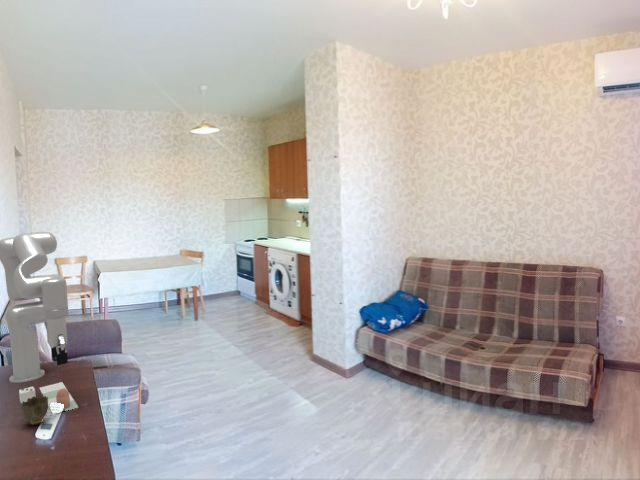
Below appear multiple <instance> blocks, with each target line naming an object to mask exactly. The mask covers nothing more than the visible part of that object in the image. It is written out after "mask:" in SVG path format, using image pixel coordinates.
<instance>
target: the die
mask: <svg viewBox="0 0 640 480" xmlns="http://www.w3.org/2000/svg"><path fill="white" fill-rule="evenodd" d="M36 394H37V393H36V389H35V387H34V386H29V387H25V388H20V389H19V390H18V395H19V402H20V405H21V406H22V404H21V403H23V401H24V402H27V399H28V398H30V399H31V398H32V397H34V396H35V397H36V398H37V396H36Z"/></svg>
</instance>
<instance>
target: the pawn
mask: <svg viewBox="0 0 640 480" xmlns="http://www.w3.org/2000/svg"><path fill="white" fill-rule="evenodd" d="M66 389H67V388H66ZM66 389H61V390H59V391H58V392H57V395H56V401H57V403H61V404H64V409H66V408H68V407H70V398H69V393H70V392H69V391H67V390H68V389H67V390H66ZM68 392H69V393H68Z"/></svg>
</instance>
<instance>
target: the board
mask: <svg viewBox="0 0 640 480" xmlns="http://www.w3.org/2000/svg"><path fill="white" fill-rule="evenodd" d="M61 389H66V390H67V391H68V388H67V387H66V386H65V384H64V383H63V381H61V382H57V383H52V384H49V385H45V386H41V387H39V390H40V392H41V395H42V396H44V397H45V396H46V397H47V396H48V407H49V404H50V403H51V402H57V401H56V395H57V392H58V391H59V390H61ZM68 393H69V398H70V407H68V408H66V409H65V411H66V412H69V411H72V409H73V410H76V409H79V405H78V404H77V402H76V400H75V399H74V398H73V396H72V395H71V393H70V392H69V391H68ZM75 408H76V409H75ZM68 410H69V411H68Z"/></svg>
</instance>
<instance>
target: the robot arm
mask: <svg viewBox="0 0 640 480" xmlns="http://www.w3.org/2000/svg"><path fill="white" fill-rule="evenodd" d="M57 247H58V241H57V238H56V237H55V235H54V234H53V233H52V232H49V231H39V232H24V233H20V234H18V235H16V236H15V237H7V238H1V239H0V263H1V264H2V267H3V268H4V275H5V284H6V286H5V287H6V292H7V297H8V298H9V300H10V301H12V302H21V301H26V300H28V301H29V300H33V299H39V300H37V301H32V302H31V301H30V302H24V303H18V304H14V305H12V306H9V307H7V309H6V310H5V315H4V316H5V321H6V324H7V325H6V326H7V329H8V334H9V339H10V340H9V341H10V343H9V344H10V350H11V351H10V352H11V362H12V364H11V365H12V373H13V374H12V375H10V376H9V379H8V380H9V382H10V383H12V384H13V383H14V384H15V383H16V384H17V383H19V384H21V383H28V382H31V381H35V380H37V379H40V378H42V377H43V376H45V374H46V372H45V370H44V369H41V362H40V352H39V350H40V349H39V339H38V338H39V337H38V333H37V332H36V331H35V330H34V329H32V328H31V327H30V326H34V325H38V324H39V325H40V324H44V323H46V338H47V339H46V340H47V341H46V342H47V344H48V345H49V347H50V349H51V351H50V352H51V358H56V365H57V366H60V365H65V364H68V362H69V360H68V350H67V345H68V332H67V331H68V330H67V319H66V318H67V317H69V315H70V314H69V302H68V301H69V300H68V288H67V280H66V279H65V278H64V277H63V276H61V275H60V274H48V275H46V274H45V275H36V276H35V275H33V276H31V275H32V274H35V273H36V272H39V271H40V270H42V269H43V268H45V266H46V265H47V263H48V260H49V258H48V255H49V254H53V253H55V251H57Z"/></svg>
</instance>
